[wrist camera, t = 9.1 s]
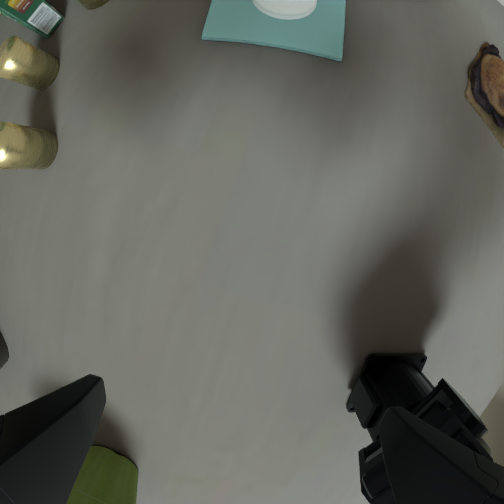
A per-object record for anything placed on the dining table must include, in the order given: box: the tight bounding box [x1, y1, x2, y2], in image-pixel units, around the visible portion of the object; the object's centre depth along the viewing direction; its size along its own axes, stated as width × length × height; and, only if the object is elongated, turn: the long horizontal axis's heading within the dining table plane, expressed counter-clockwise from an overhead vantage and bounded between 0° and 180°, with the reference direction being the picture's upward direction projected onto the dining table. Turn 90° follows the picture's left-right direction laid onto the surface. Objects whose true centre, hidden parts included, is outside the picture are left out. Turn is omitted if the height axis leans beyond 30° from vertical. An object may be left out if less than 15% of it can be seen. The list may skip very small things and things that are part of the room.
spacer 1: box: [0, 36, 60, 90], centre depth 13 cm, size 3×3×6 cm
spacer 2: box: [0, 122, 58, 169], centre depth 15 cm, size 3×3×6 cm
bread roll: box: [465, 43, 504, 149], centre depth 15 cm, size 11×8×4 cm
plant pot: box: [66, 446, 138, 504], centre depth 20 cm, size 12×12×11 cm
